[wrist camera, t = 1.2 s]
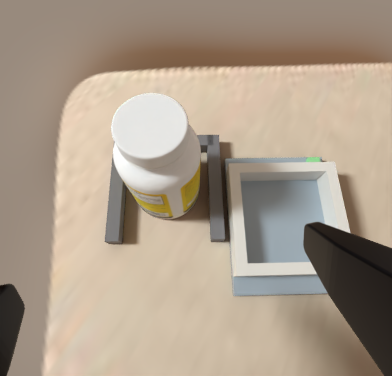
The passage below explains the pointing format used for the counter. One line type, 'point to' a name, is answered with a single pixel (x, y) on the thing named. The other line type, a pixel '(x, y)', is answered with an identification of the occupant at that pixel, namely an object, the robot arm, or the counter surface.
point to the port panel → (278, 221)
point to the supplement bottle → (157, 154)
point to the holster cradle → (215, 195)
